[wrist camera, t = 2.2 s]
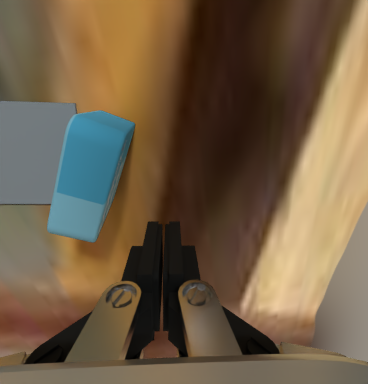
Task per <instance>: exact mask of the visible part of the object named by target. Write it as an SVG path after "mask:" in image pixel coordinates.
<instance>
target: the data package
mask: <svg viewBox="0 0 368 384" xmlns="http://www.w3.org/2000/svg"><path fill="white" fill-rule="evenodd" d="M134 129H135V123H133V122H131V121H128V120H125V119H123V118H120V117H117V116H115V115H112V114H109V113H107V112H104V111H101V110H100V111H93V112H87V113H80V114H75V115H74V116H72V118H71V119H70V121H69V123H68V125H67V128H66V131H65V135H64V141H63V146H62V151H61V156H60V161H59V167H58V172H57V177H56V182H55V188H54V193H53V198H52V203H51V209H50V214H49V219H48V224H47V230H48V232H49V233H52V234H57V235H61V236H66V237H70V238H75V239H79V240H84V241H88V242H95V241H96V240H97V238H98V235H99V233H100V231H101V228H102V226H103V223H104V221H105V219H106V216H107V214H108V212H109V209H110V207H111V204H112V202H113V199H114V196H115V193H116V190H117V186H118V183H119V180H120V176H121V173H122V169H123V166H124V163H125V159H126V156H127V153H128V149H129V146H130V142H131V139H132V136H133V132H134Z"/></svg>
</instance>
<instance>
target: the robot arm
mask: <svg viewBox="0 0 368 384" xmlns="http://www.w3.org/2000/svg"><path fill="white" fill-rule="evenodd" d="M162 273H163V331H168V340H169V341H170V342H172V343H173V344H174V345H175V346H176V347H177V358H152V359H143V356H144V348H145V347H146V346H147V345H148V344H149V343H150V342H151V341H152V340H154V333H155V331H159V329H160V311H161V292H162ZM0 384H368V362H366V361H361V360H357V359H352V358H348V357H346V356H344V355H342V354H339V353H336V352H331V351H326V350H321V349H316V348H311V347H306V346H300V345H295V344H290V343H285V342H281V344H280V345H278V344H274V342H273V341H272V340H270V339H269V338H268V337H267V336H266V335H264V334H263V333H261V332H260V331H258V330H257V329H255V328H254V327H252V326H251V325H249V324H248V323H246V322H245V321H243V320H242V319H241V318H239V317H238V316H236V315H235V314H233V313H232V312H230V311H229V310H227V309H226V308H224V307H223V306H221V304H220V302H219V299H218V297H217V295H216V292H215V290H214V289H213V287H212V286H211V285H210V284H208V283H207V282H204V281H202V280H200V274H199V268H198V262H197V257H196V251H195V246H181V234H180V222H170V224H166V225H165V245H164V266H163V243H162V224H159V223H158V222H148V224H147V229H146V234H145V239H144V243H143V246H132V247H131V250H130V253H129V256H128V260H127V263H126V267H125V270H124V274H123V277H122V280H121V282H117V283H115V284H112V285H111V286H109V287H108V288H107V289H106V290H105V291H104V293H103V294H102V296H101V298H100V299H99V301H98V303H97V305H96V306H95V308H94V310H93V311H92V312H90V313H89V314H87V315H86V316H84V317H83V318H81V319H80V320H78V321H77V322H75V323H74V324H72V325H71V326H69V327H68V328H66V329H65V330H63V331H61V332H60V333H58V334H57V335H55V336H54V337H52V338H51V339H49V340H48V341H46V342H45V343H43V344H42V345H40V346H39V347H38V348H37V349H35V350H34V351H33V352H32V353H31V354H28V355H26V352H21V353H17V354H13V355H9V356H5V357H1V358H0Z"/></svg>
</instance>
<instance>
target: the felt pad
mask: <svg viewBox="0 0 368 384" xmlns="http://www.w3.org/2000/svg"><path fill="white" fill-rule="evenodd" d="M75 114H77V110H76V103H46V102H15V101H0V204H51V203H52V198H53V193H54V188H55V182H56V177H57V172H58V167H59V161H60V156H61V151H62V146H63V141H64V135H65V131H66V128H67V125H68V123H69V121H70V119H71V118H72V116H74V115H75Z"/></svg>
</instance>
